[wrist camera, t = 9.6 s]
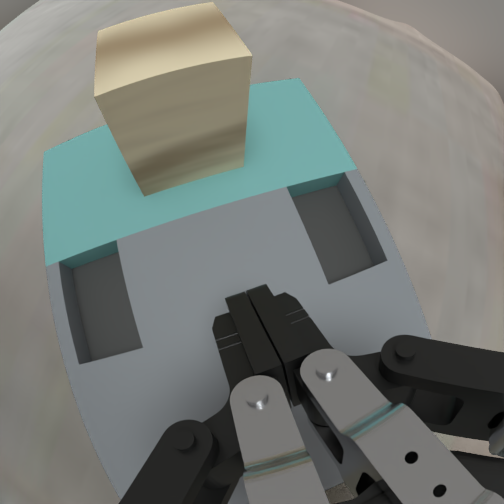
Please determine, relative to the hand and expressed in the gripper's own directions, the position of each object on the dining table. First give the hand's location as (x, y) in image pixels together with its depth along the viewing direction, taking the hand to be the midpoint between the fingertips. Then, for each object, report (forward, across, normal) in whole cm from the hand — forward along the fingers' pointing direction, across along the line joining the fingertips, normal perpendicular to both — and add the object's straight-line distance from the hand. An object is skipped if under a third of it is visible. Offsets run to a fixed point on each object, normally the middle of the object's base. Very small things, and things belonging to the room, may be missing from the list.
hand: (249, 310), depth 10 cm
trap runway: (+6, 0, +3) cm, 6 cm away
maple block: (+11, 0, -5) cm, 12 cm away
